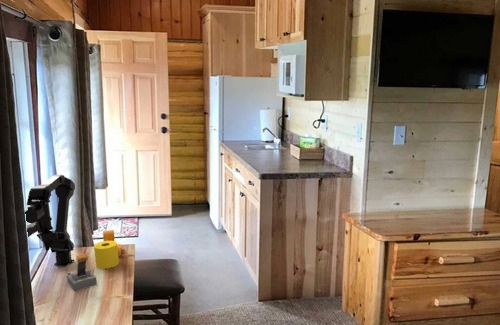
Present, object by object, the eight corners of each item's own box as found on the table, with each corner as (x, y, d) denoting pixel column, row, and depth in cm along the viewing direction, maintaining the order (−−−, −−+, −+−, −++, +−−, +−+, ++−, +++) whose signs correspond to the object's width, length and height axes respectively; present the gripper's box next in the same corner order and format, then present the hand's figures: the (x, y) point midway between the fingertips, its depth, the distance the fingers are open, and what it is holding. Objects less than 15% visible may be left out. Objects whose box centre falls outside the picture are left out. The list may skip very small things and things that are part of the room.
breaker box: (67, 282, 190) (66, 271, 189) (89, 276, 195) (88, 265, 194) (74, 291, 182) (72, 279, 181) (96, 284, 187) (95, 272, 186)
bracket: (120, 257, 215) (118, 233, 213) (105, 259, 213) (102, 235, 211) (121, 249, 225) (119, 226, 223) (106, 251, 223) (103, 227, 221)
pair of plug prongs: (67, 276, 196) (67, 273, 196) (80, 272, 199) (80, 269, 199) (72, 281, 190) (72, 279, 190) (85, 278, 193) (85, 275, 193)
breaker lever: (75, 275, 187) (76, 256, 181) (85, 272, 189) (86, 253, 183) (76, 278, 186) (77, 259, 180) (86, 275, 188) (87, 256, 182)
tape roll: (117, 267, 203) (115, 247, 201) (94, 269, 202) (92, 249, 200) (120, 258, 213) (118, 239, 211) (98, 260, 211) (96, 241, 210)
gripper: (17, 214, 194) (22, 249, 197) (26, 225, 179) (31, 262, 182) (45, 209, 200) (49, 243, 203) (56, 219, 185) (60, 255, 188)
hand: (47, 250), depth 194 cm, fingers closed
